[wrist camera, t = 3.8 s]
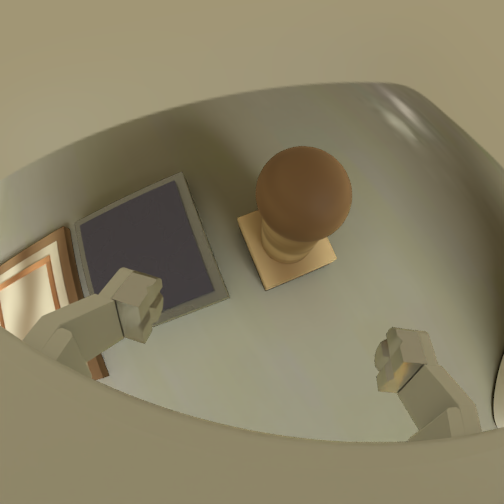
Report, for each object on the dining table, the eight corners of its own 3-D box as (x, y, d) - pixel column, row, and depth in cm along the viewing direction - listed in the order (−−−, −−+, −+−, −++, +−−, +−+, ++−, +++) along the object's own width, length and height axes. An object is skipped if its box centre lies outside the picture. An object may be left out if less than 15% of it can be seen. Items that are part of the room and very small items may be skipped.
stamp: (300, 204, 22) (336, 105, 10) (328, 264, 21) (400, 211, 9) (239, 228, 21) (220, 139, 10) (265, 291, 20) (275, 264, 9)
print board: (69, 229, 22) (61, 225, 20) (109, 375, 19) (101, 378, 18) (-9, 277, 21) (-17, 276, 20) (19, 397, 18) (11, 399, 17)
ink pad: (185, 179, 22) (180, 169, 21) (230, 297, 20) (227, 296, 19) (83, 227, 22) (72, 221, 20) (112, 341, 20) (101, 343, 18)
